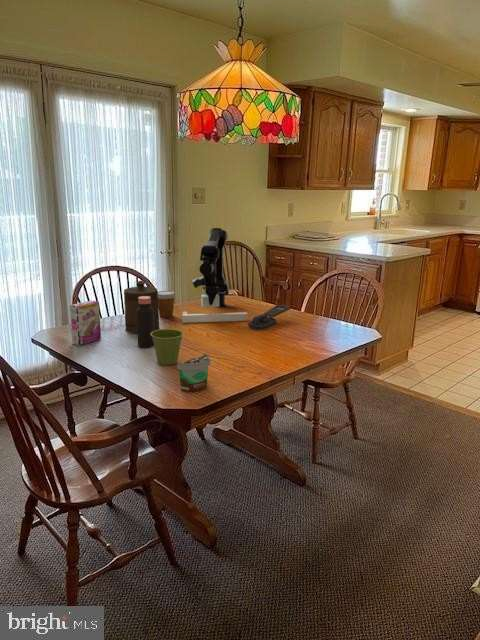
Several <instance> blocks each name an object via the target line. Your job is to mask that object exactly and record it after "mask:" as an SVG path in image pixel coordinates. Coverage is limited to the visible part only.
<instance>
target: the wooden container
mask: <svg viewBox="0 0 480 640" xmlns="http://www.w3.org/2000/svg"><path fill="white" fill-rule="evenodd" d="M158 292H159V291H158V288H156V287H154V286H145V282H144V281H143V280H138V281H137V282H136V286H131V287H127V288H125V289H124V290H123V299H124V301H123V302H124V322H125V331H126V332H128V333H129V332H130V333H131V334H133V335H134V334H135V335H137V316H136V310H137V308H138V307H139V303H138V297H141V296H149V297H151V304H150V306H151V307H152V308H153V310H154V331H156V330H160V315H159V309H158Z"/></svg>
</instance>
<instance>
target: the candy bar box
mask: <svg viewBox="0 0 480 640" xmlns="http://www.w3.org/2000/svg"><path fill="white" fill-rule="evenodd" d="M100 309H101V308H100V302H99V301H97V300H96V301H95V300H92V299H91V300H88V301H83V302H77V303H74V304H70V305H69V313H70V327H71V343H74V344H73V345H75V344H77V345H76V346H78V345H81V346H83V345H82V344H84V345H86V344H85V343H87V344H90V343H89V342H91V343H93V342H92V341H94V342H97V341H100V340H99V339H101V340H102V333H101V331H102V330H101V329H102V327H101V311H100ZM96 340H97V341H96Z"/></svg>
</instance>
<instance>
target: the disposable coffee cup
mask: <svg viewBox="0 0 480 640" xmlns="http://www.w3.org/2000/svg"><path fill="white" fill-rule="evenodd" d="M175 297H176V293H175V291H173V290H160V291H158V310H159V318H162V319H169V318H172V317H173V316H174V305H175Z"/></svg>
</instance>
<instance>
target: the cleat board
mask: <svg viewBox="0 0 480 640" xmlns="http://www.w3.org/2000/svg"><path fill="white" fill-rule="evenodd" d="M248 316H249V315H248V312H223V313H220V312H215V313H188V311H182V324H183V323H184V324H185V323H186V324H187V323H188V324H189V323H210V322H211V323H213V322H215V323H217V322H218V323H219V322H239V321H240V322H243V321H244V322H247V321H248V319H249V317H248Z"/></svg>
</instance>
